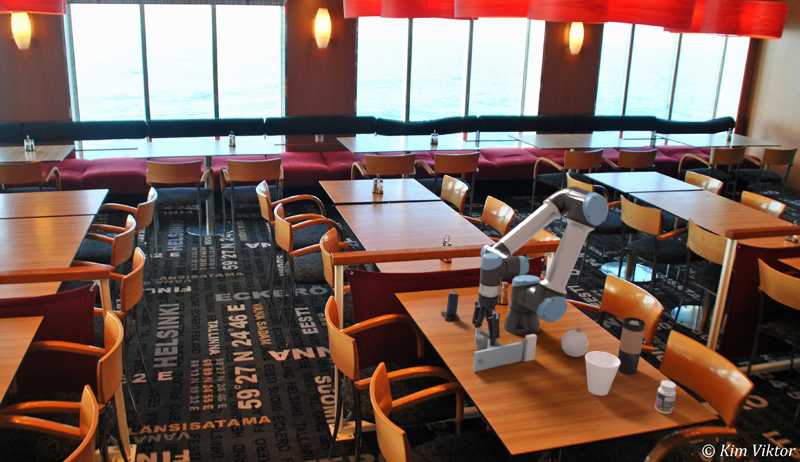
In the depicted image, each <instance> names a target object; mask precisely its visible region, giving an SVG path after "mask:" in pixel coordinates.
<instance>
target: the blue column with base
mask: <svg viewBox="0 0 800 462" xmlns="http://www.w3.org/2000/svg"><path fill="white" fill-rule="evenodd" d="M446 304H447V305H446V310H445V311H443V310H442V311H440V313H441V315H443V316H444V320H445V321H448V322H451V321H452V319H453V321H454V320H460V319H461V318H460V316H459V314H458V313H457V311H458V304H459V292H458V291H456V290H450V291H449V292H448V295H447V303H446Z"/></svg>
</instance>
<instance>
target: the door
mask: <svg viewBox="0 0 800 462" xmlns="http://www.w3.org/2000/svg"><path fill="white" fill-rule="evenodd" d="M525 349H526V339H525V338H522V339H521V341H517V342H514V343H508V344H503V345H502V346H498V347H494V348H489V349H484V350H479V349H478V350H476V351H474V353H473V365H472V371H473V372H477V371H483V370H486V369H492V368H496V367H499V366H505V365H509V364H512V363H513V364H514V363H517V362H521V361H522V362H523V361H525V360H524V357H525Z"/></svg>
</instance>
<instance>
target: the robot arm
mask: <svg viewBox="0 0 800 462" xmlns="http://www.w3.org/2000/svg"><path fill="white" fill-rule="evenodd" d="M542 203H543V204H542V205H541V206H540V207H538V208H537V209H536V210H535V211H534V212H532V213H531V214H529V215H528V216H527V217H526V218H525V219H524V220H522V221H521V222H520V223H518V224H517V225H516V226H515V227H514V228H512V229H511V230H510V231H509V232H508V233H506V234H505V235H504V236H503V237H501V238H500V239H499V240H498V241H496V243H494V244H492V243H487V244H485V245H483V247H482V248H481V250H480V257H481V261H480V272H479V273H480V275H479V286H478V287H479V288H478V297H477V301H475V302H474V309H473V310H474V312H473V315H472V320H471V323H472V324H473V325H474V336H475V335H476V334H477V333H480V332H482V331H483V323H484V321H486V322H487V327H488V329H487V330H489V336H490V337H488V344H487V349H489V348H494V346H495V339H497V340H498V339H500V337H501V336H500V334H501V332H500V328H501V327H500V317H501V313H498V312H496V306H497V305H498V304H499V294H500V286H501V284H500V283H501V279H506V278H513V279H512V283H511V285H510V286H511V290H510V301H509V309H508V312H507V314H506V315H505V316H506V317H505V318H504V320H503V328H504V329H505V330H506V331H508V332H510V333H512V334H516V335H520V336H526V335H531V334H535V335H536V334H538V333H539V332H540V328H541V324H540V320H543V321H544V322H547V323H554V322H557V321H558V320H561V318H562V317H564V315H565V314H566V313H567V310H568V302H567V299H566V296H567V293H568V292H567V290H566V286H567V284H568V282H569V279H570V277H571V275H572V272H573V270H574V268H575V265H576V262H577V260H578V258H579V256H580V253H581V251H582V249H583V246H584V244H585V242H586V239H587V236H588V235H589V233H590V232H592V231H594V230H595V228H596V226H599V225H601V224H602V223H604V222H605V221H606V219H607V217H608V214H609V204H608V201H607V199H606V198H605V197H604V196H603V195H601V194H600V193H597V192H594V191H590V190H588V189H585V188H581V187H578V186H573V185H572V186H567V187H564V188H561V189H560V190H557V191H555V192H554V193H552V194H551V195H549V196H548V197H547V198H546V199H544V200H543V202H542ZM563 216H566V218H565V219H566V222H567V225H566V228H565V230H564V232H563V235H562V237H561V240H560V242H559V244H558V247H557V248H556V251H555V253H554V256H553V258H552V261H551V263H550V266H549V267H548V270H547V272H546V274H545V277H544V279H541V278H540V277H538V276H537V275H532V274H531V275H530V274H528V272H529V271H530V263H529V260H528V259H527V257H525V256H523V255H517V256H514V255H513V254H515V252H517V251H518V250H519V249H520V248H522V247H523V246H524V245H525V244H526V243H527V242H528V241H530V240H532V238H533V237H535V236H536V235H538V234H539V233H540V232H541V231H542V230H544V228H546V227H547V226H548V225H549V224H551V223H552V222H553V221H555V220H560V219H561V218H562V217H563ZM473 343H474V344H475V345H477V343H476V339H475V338H474V341H473Z"/></svg>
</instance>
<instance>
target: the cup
mask: <svg viewBox="0 0 800 462" xmlns="http://www.w3.org/2000/svg"><path fill="white" fill-rule="evenodd" d="M584 358H585V359H584V360H585V366H586V367H585V368H586V379H587V382H586V383H587V389H588V392H589V393H590V394H593V395H595V396H602V397H603V396H606V395H608V394H609V391H610V389H611V387H612V384H613V381H614V379H615V377H616V375H617V373H618V368H619V365H620V363H621V362H620V360H619V359H618V356H616V355H614V354H612V353H610V352H607V351H602V350H601V351H596V350H593V351H589V352H586V353H585V354H584Z"/></svg>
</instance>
